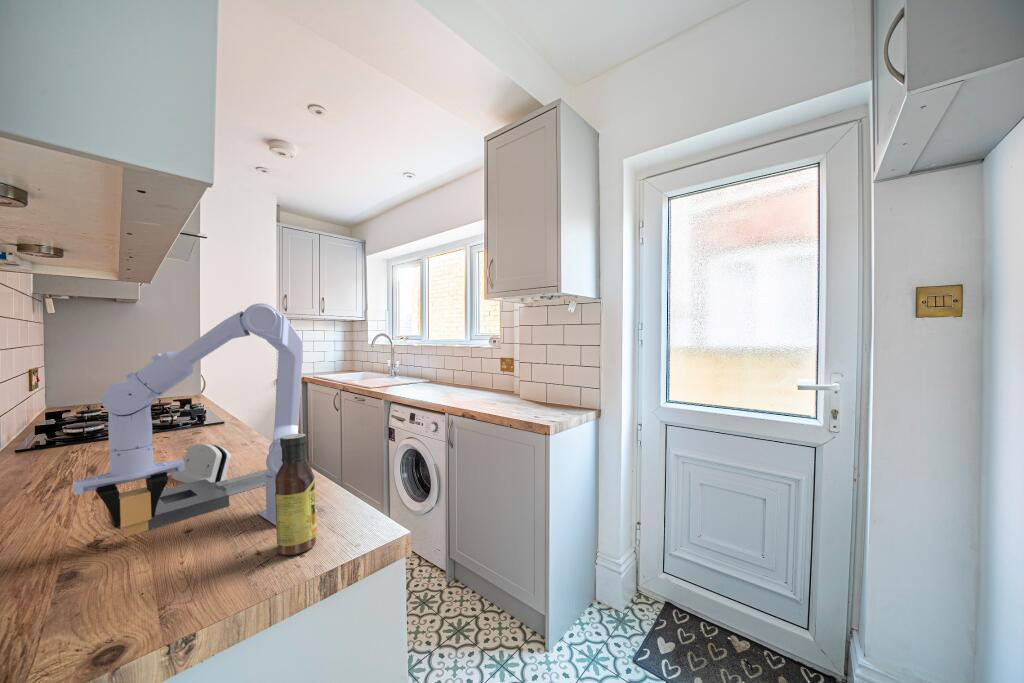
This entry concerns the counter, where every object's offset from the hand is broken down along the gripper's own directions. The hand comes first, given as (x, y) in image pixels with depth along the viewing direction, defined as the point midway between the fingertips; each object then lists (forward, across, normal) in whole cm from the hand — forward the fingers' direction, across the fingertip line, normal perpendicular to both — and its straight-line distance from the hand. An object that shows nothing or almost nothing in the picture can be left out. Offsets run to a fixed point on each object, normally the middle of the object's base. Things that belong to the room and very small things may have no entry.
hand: (134, 520), depth 72 cm
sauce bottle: (+4, -17, +26) cm, 31 cm away
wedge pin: (+2, 0, 0) cm, 2 cm away
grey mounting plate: (+4, -14, -12) cm, 19 cm away
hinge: (+4, -18, -30) cm, 35 cm away
